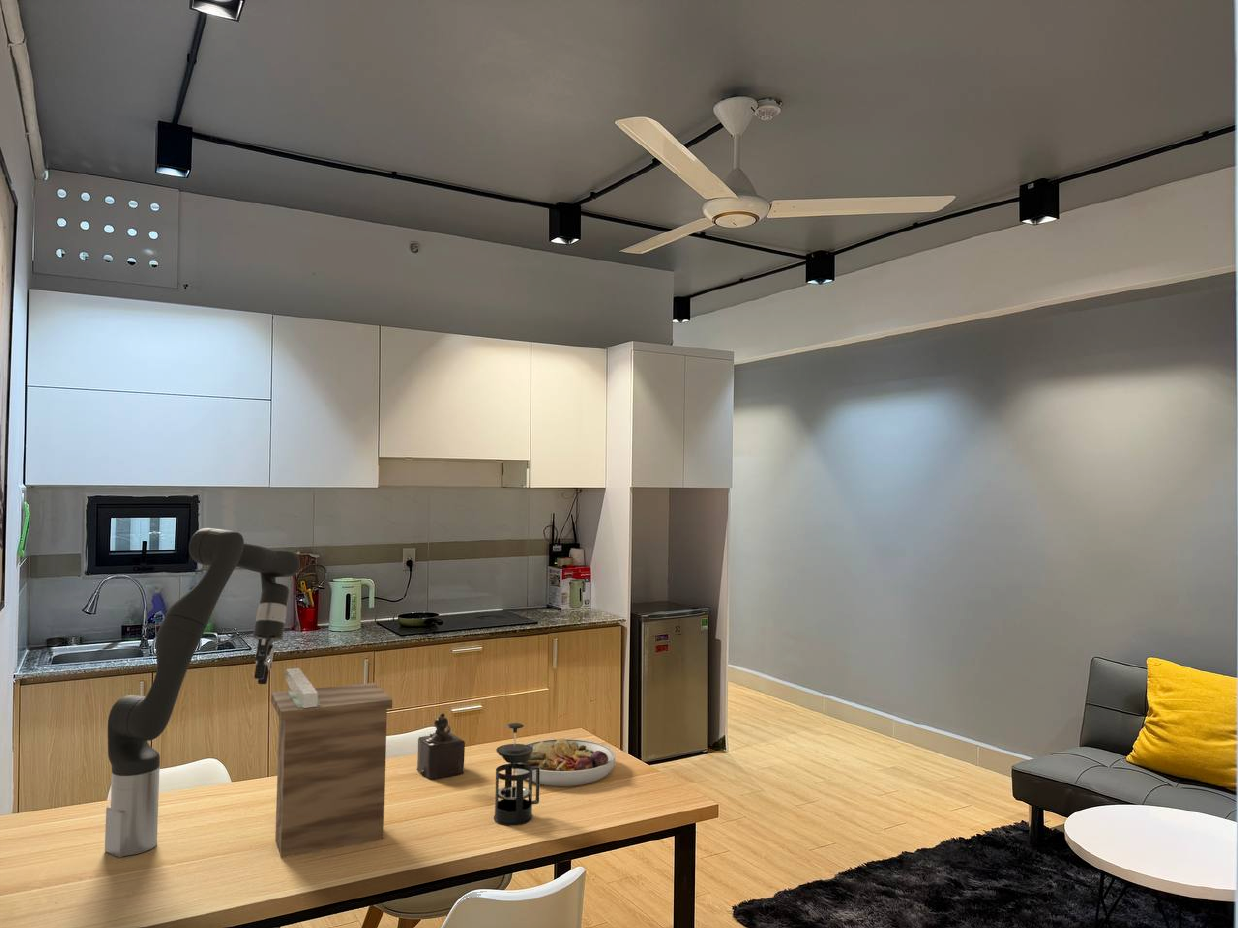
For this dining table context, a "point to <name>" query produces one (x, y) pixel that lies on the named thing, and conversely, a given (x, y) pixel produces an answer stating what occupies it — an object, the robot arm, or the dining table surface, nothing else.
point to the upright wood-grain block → (330, 768)
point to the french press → (514, 802)
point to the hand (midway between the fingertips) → (260, 681)
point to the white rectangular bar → (301, 688)
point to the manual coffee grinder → (440, 752)
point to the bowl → (569, 761)
